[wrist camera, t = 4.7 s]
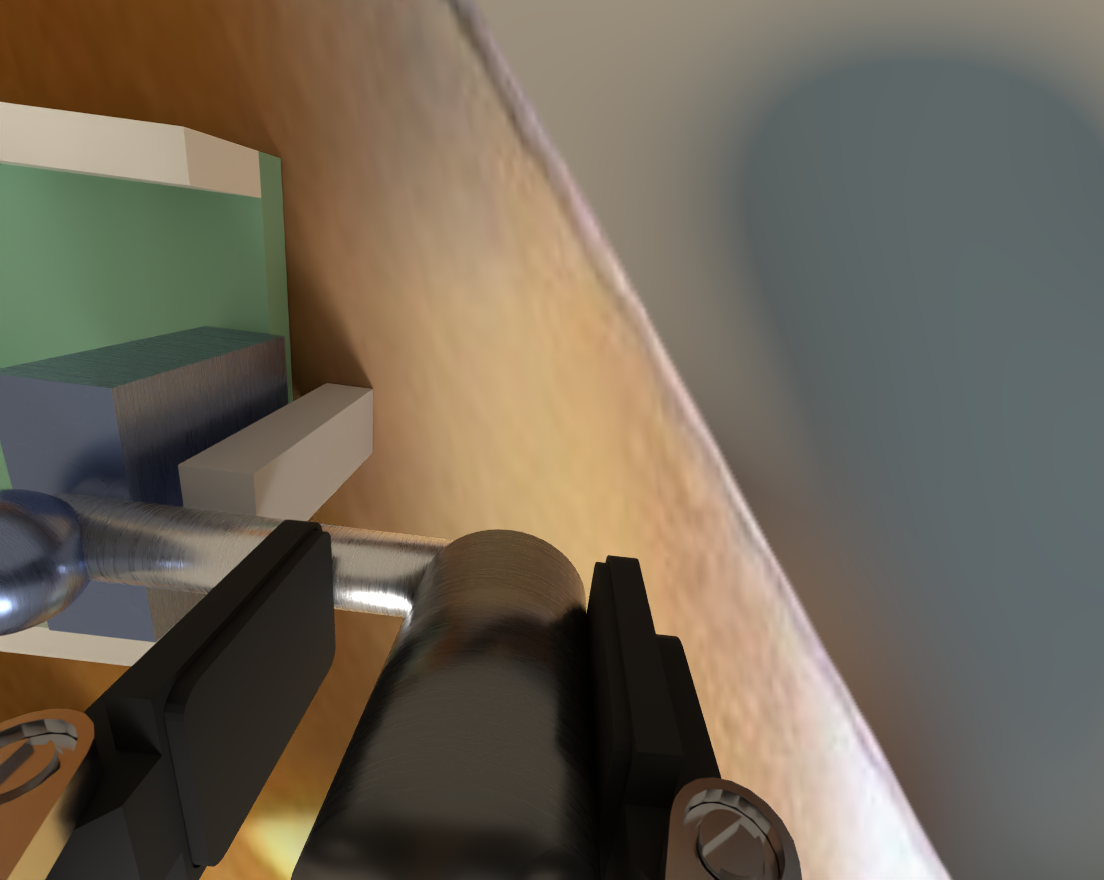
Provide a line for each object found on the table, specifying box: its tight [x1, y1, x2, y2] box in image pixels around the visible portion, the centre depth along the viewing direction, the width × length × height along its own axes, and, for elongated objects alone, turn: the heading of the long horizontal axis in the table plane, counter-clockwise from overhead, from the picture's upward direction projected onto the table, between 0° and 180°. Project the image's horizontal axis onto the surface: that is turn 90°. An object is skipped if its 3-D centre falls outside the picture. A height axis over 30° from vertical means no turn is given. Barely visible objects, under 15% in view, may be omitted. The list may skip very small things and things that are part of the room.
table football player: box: [0, 326, 601, 880], centre depth 11 cm, size 12×6×12 cm, turn 83°
